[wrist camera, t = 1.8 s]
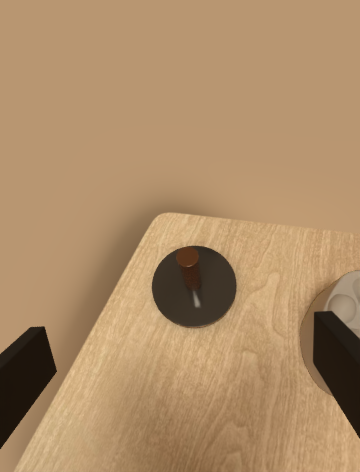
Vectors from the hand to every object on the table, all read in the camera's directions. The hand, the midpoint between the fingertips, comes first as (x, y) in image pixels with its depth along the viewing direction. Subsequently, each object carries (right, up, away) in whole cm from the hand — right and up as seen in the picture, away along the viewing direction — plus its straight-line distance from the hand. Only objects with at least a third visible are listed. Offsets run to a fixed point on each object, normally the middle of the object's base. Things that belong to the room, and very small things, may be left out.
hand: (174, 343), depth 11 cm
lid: (+2, -2, +24) cm, 24 cm away
